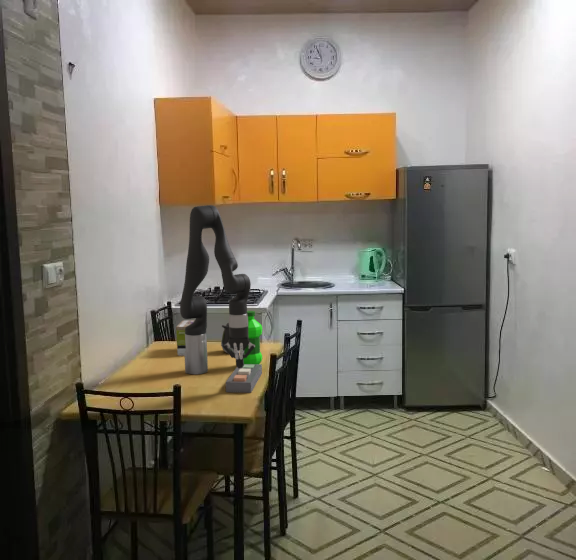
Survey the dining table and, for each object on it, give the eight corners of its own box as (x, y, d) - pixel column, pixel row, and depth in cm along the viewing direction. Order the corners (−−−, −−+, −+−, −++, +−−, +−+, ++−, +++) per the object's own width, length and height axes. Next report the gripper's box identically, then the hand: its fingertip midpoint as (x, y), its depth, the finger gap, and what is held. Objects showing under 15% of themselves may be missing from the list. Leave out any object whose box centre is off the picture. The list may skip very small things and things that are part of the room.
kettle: (216, 352, 298) (215, 322, 296) (233, 348, 305) (232, 319, 303) (229, 356, 291) (228, 325, 289) (246, 352, 298) (245, 321, 296)
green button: (242, 374, 256) (242, 367, 255) (244, 371, 260) (244, 364, 259) (253, 374, 255) (252, 367, 255) (254, 371, 259) (254, 364, 259)
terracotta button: (233, 385, 238) (233, 378, 237) (236, 382, 242) (235, 374, 242) (244, 386, 237) (244, 378, 237) (246, 382, 242) (246, 374, 241)
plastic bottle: (238, 369, 268) (236, 313, 265) (243, 362, 278) (241, 309, 275) (260, 369, 267) (259, 314, 264) (264, 363, 277) (263, 309, 274)
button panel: (226, 392, 237) (225, 382, 236) (239, 373, 262) (239, 364, 262) (251, 392, 235) (250, 382, 235) (262, 373, 261) (261, 364, 260)
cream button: (238, 379, 247) (238, 371, 246) (240, 375, 251) (240, 368, 251) (249, 379, 246) (248, 371, 246) (250, 376, 250) (250, 368, 250)
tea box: (183, 348, 308) (182, 319, 306) (203, 348, 308) (201, 319, 306) (176, 355, 293) (175, 326, 291) (197, 355, 293) (196, 325, 291)
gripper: (256, 323, 239) (258, 365, 242) (224, 323, 241) (225, 365, 243) (253, 327, 232) (254, 370, 234) (219, 327, 234) (221, 370, 236)
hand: (240, 367), depth 239 cm, fingers closed
